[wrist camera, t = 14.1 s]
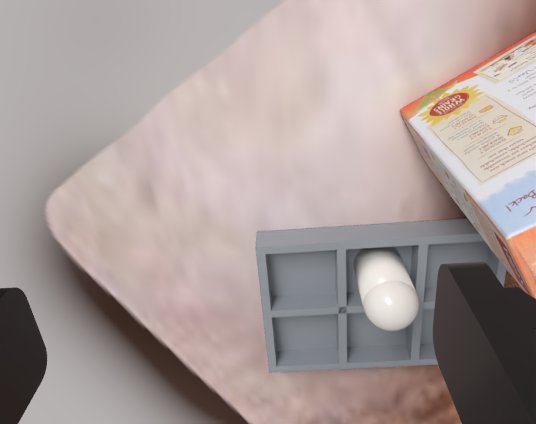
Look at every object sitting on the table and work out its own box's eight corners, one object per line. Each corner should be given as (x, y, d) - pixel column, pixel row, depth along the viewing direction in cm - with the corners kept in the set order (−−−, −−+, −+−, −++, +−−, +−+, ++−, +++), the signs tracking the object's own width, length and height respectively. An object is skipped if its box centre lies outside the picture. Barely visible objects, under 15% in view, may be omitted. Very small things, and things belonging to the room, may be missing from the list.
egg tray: (500, 216, 44) (513, 231, 42) (480, 342, 51) (490, 362, 49) (256, 231, 46) (255, 247, 43) (269, 353, 53) (269, 372, 50)
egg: (402, 241, 45) (427, 296, 38) (400, 282, 47) (423, 341, 40) (353, 244, 45) (367, 299, 38) (353, 284, 47) (367, 344, 40)
